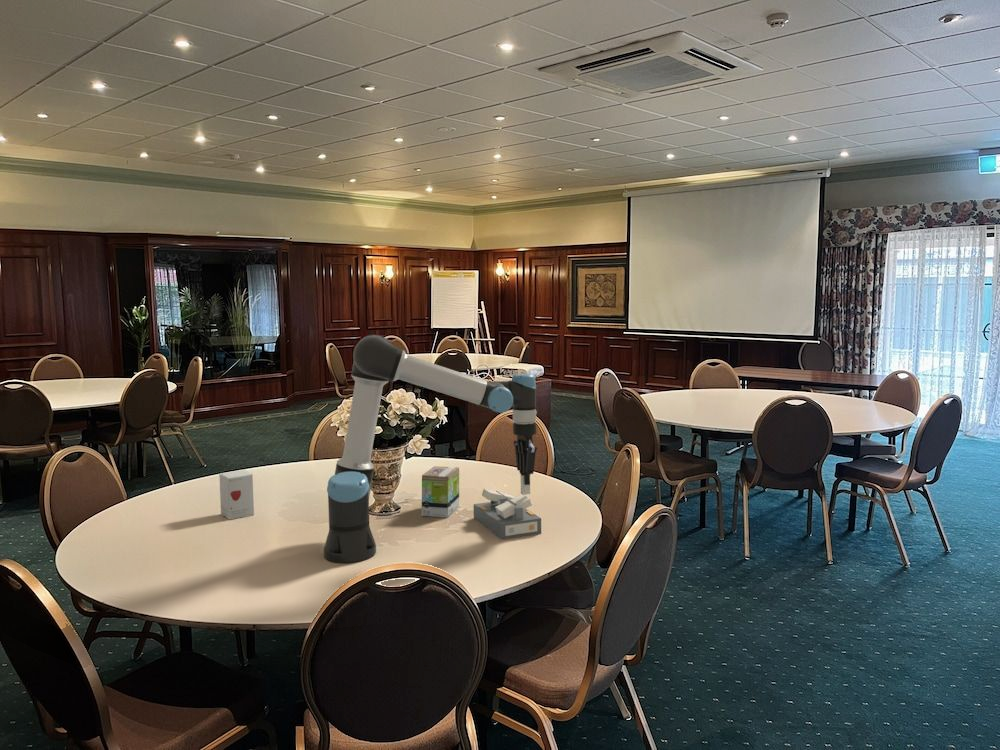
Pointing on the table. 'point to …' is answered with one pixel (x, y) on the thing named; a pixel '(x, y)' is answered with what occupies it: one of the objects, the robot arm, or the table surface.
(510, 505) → the rocker
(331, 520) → the robot arm
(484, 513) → the switch unit
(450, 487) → the tea box
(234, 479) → the supplement box
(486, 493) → the rocker
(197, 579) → the table surface
